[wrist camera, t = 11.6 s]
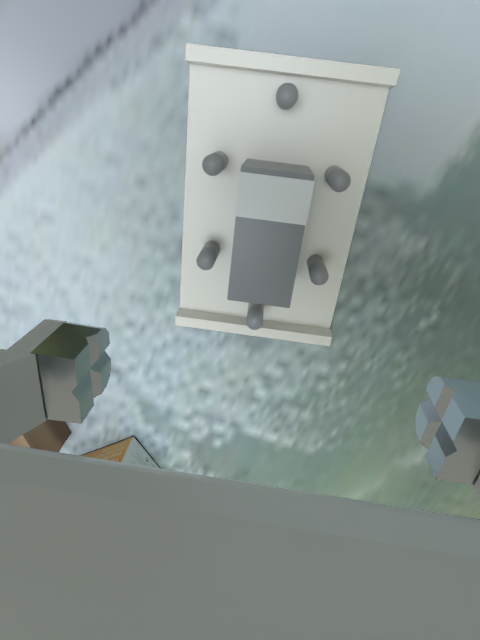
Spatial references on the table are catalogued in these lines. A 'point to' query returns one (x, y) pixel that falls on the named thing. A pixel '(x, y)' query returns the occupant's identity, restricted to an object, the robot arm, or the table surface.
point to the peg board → (285, 147)
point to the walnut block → (45, 436)
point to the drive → (269, 231)
